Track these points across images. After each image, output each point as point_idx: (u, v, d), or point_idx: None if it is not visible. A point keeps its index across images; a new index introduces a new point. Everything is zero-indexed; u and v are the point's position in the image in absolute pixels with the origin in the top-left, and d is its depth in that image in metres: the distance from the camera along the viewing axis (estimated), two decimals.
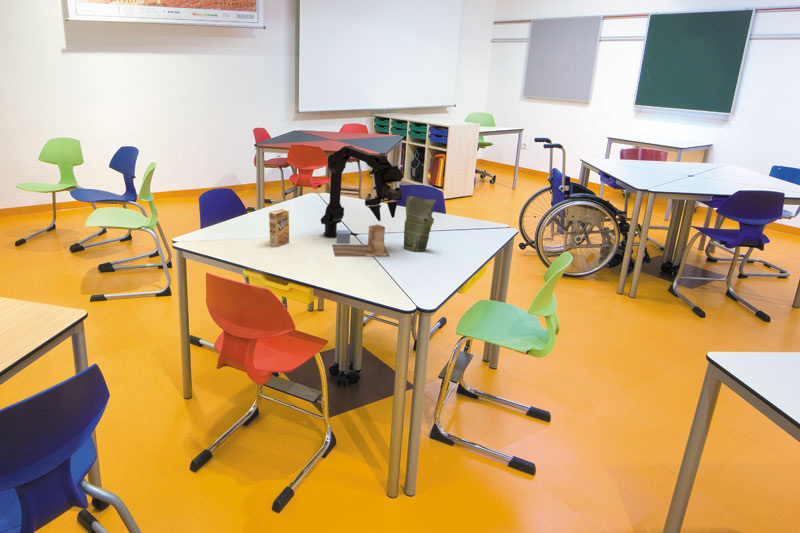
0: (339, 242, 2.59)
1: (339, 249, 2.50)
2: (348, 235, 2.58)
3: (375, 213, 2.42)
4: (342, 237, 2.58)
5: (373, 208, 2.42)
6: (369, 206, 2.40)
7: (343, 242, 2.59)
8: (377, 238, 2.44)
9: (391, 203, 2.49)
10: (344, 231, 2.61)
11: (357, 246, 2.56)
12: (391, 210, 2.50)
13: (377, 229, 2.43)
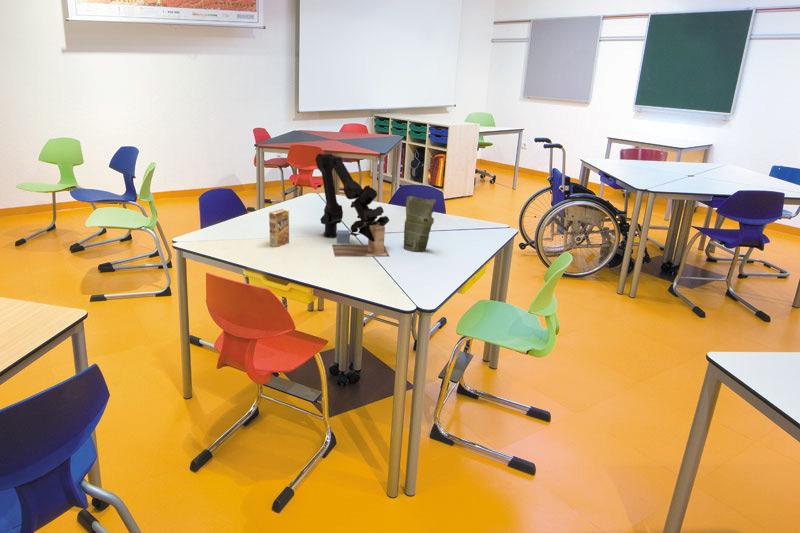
0: (339, 242, 2.59)
1: (339, 249, 2.50)
2: (348, 235, 2.58)
3: (367, 235, 2.45)
4: (342, 237, 2.58)
5: (364, 232, 2.46)
6: None
7: (343, 242, 2.59)
8: (377, 238, 2.44)
9: None
10: (344, 231, 2.61)
11: (357, 246, 2.56)
12: None
13: (377, 229, 2.43)
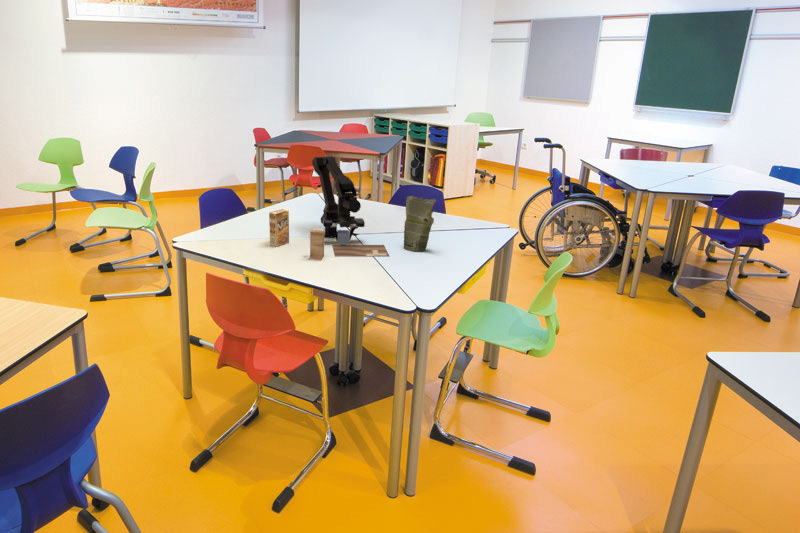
0: (339, 242, 2.59)
1: (339, 249, 2.50)
2: (348, 235, 2.58)
3: None
4: (342, 236, 2.58)
5: None
6: None
7: (343, 242, 2.59)
8: (312, 242, 2.35)
9: (350, 227, 2.60)
10: (344, 231, 2.61)
11: (357, 246, 2.56)
12: None
13: (311, 233, 2.34)
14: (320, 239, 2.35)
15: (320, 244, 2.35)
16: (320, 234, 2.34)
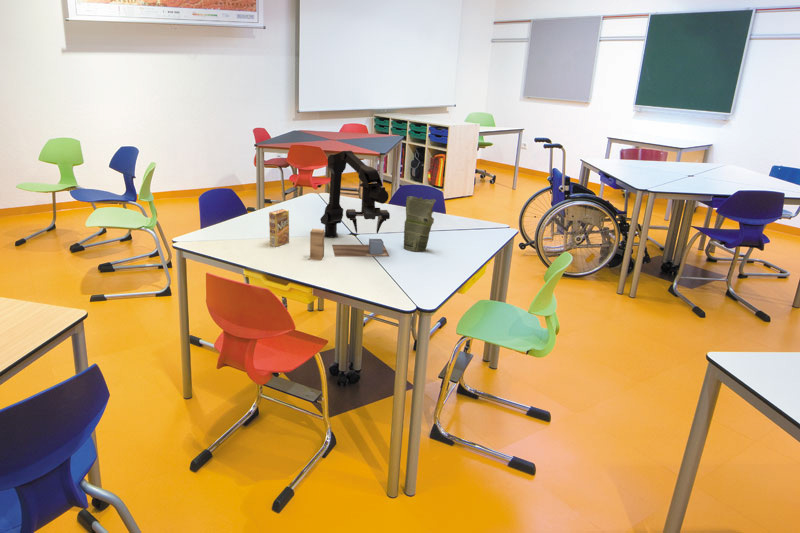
0: (372, 251, 2.46)
1: (339, 249, 2.50)
2: (381, 244, 2.46)
3: None
4: (375, 246, 2.46)
5: None
6: None
7: (376, 251, 2.46)
8: (312, 242, 2.35)
9: (378, 219, 2.48)
10: (377, 240, 2.48)
11: (357, 246, 2.56)
12: (377, 225, 2.49)
13: (311, 233, 2.34)
14: (320, 239, 2.35)
15: (320, 244, 2.35)
16: (320, 234, 2.34)
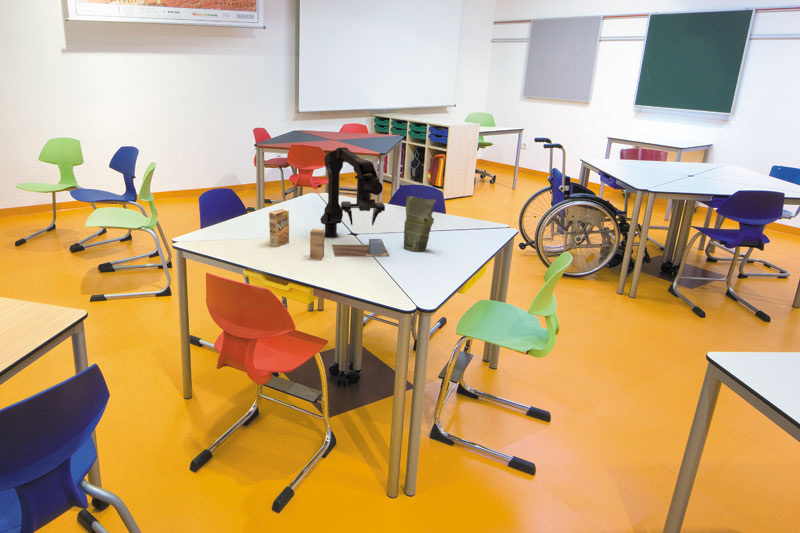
0: (372, 251, 2.46)
1: (339, 249, 2.50)
2: (381, 244, 2.46)
3: (349, 217, 2.46)
4: (375, 246, 2.46)
5: None
6: None
7: (376, 251, 2.46)
8: (312, 242, 2.35)
9: (374, 211, 2.47)
10: (377, 240, 2.48)
11: (357, 246, 2.56)
12: (372, 218, 2.48)
13: (311, 233, 2.34)
14: (320, 239, 2.35)
15: (320, 244, 2.35)
16: (320, 234, 2.34)
